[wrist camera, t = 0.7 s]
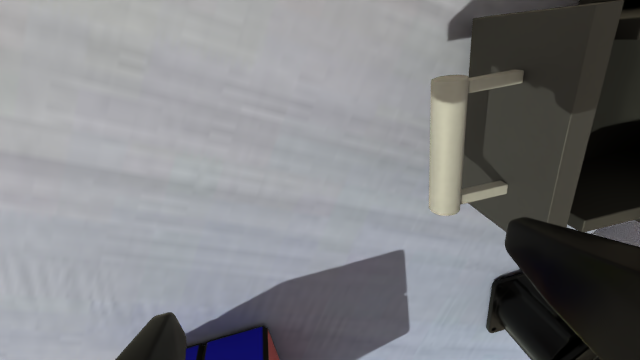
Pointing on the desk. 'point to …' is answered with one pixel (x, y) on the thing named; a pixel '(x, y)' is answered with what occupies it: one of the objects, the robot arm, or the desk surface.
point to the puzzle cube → (237, 347)
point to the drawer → (542, 119)
